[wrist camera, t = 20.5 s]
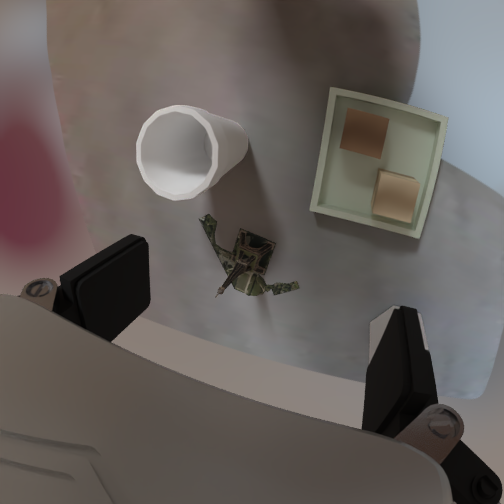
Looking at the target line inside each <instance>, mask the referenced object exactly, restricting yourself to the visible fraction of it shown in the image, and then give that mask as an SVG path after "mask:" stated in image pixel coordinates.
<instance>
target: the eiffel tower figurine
mask: <svg viewBox="0 0 504 504" xmlns="http://www.w3.org/2000/svg"><path fill="white" fill-rule="evenodd" d="M199 220H200V222H201V224H202V226H203V228H204V230H205V232H206V234H207V236H208V238H209V240H210V242H211V244H212V246H213V248H214V250H215V252H216V254H217V256H218V258H219V260H220V262H221V264H222V266H223V268H224V270H225V271H226V273H227V275H228V278H227V279H226V281H225V282H224V284H223V285H222V286H221V287H219V289H218V292H217V293H218V294H223V292H224V290H225V289H226V288H227V287H228V286H229V285H230V284H231V283H232V285H233V287H234V289H236V290H238V291H241V292H243V293H245V294H247V295H248V296H250V295H251V296H257V295H259V294H263V293H264V292H265V291H267V292H268V291H269V290H270V289H272V291H273V294H274V295H277V294H280V293H284V292H287V291H291V290H294V289H298V288H299V285H298V283H297V281H295V282H292V283H290V284H286V283H284V284H283V283H275V284H273V285H266V283H265V281H264V279H263V278H262V277H261V276H260V275H259V274H258V273H260V274H262V275H264V274H265V272H266V269H267V266H268V264H269V261H270V258H271V256H272V253H273V250H274V248H275V245H276V243H274V242H272V241H269V240H267V239H265V238H262V237H260V236H258V235H255V234H253V233H251V232H248V231H246V230H243V229H241V228H240V231H239V234H238V237H237V240H236V243H235V247H234V250H233V252H229V251H226V250H224V249H222V248H221V247H220V246H218V245H217V244H216V242H215V230H216V225H217V221H216V220H214V219H213V218H212V216H211V215H210V214H208V215H206V216H203V217H201V218H199ZM257 272H258V273H257ZM218 294H217V295H218ZM216 297H217V296H216ZM216 297H215V298H216Z"/></svg>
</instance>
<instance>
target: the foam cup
mask: <svg viewBox="0 0 504 504" xmlns="http://www.w3.org/2000/svg"><path fill="white" fill-rule="evenodd" d="M248 142H249V139H248V136H247V134H246V132H245V129H244V128H243V127H241V126H240V125H239V124H238V123H237V122H235V121H232V120H229V119H226V118H223V117H220V116H217V115H214V114H211V113H208V112H207V111H206V110H204V109H200V108H196V107H192V106H187V105H174V106H170V107H167V108H164V109H160V110H157V111H156V112H155V113H154V114H153V115H152V116H151V117H150V118H149V119H148V120H147V121H146V122H145V123H144V124H143V127H142V129H141V132H140V134H139V137H138V139H137V142H136V151H137V164H138V167H139V169H140V172H141V174H142V177H143V179H144V181H145V182H146V183H147V184H148V185H149V186H150V187H151V188H152V189H153V190H154V191H155V193H156V194H158V195H160V196H163V197H166V198H168V199H171V200H173V201H176V200H184V199H192V198H194V197H196V196H198V195H200V194H202V193H204V192H205V191H207V190H208V189H209V188H211V187H212V186H214V185H215V184H216V183H218V181H219V180H220V178H221V177H222V176H223V175H224V174H226V173H227V172H228V171H229V170H230V169H232V168H233V167H234V166H235V165H237V164H238V163H239V162H240V161H242V160H243V158H244V156H245V155H246V153H247V151H248Z"/></svg>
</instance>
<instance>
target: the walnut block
mask: <svg viewBox="0 0 504 504" xmlns="http://www.w3.org/2000/svg"><path fill="white" fill-rule="evenodd" d="M388 124H389V119H388V118H385V117H382V116H378V115H375V114H371V113H367V112H364V111H360V110H356V109H352V108H347V113H346V118H345V123H344V128H343V133H342V138H341V143H340V147H339V148H341V149H345V150H349V151H352V152H356V153H360V154H363V155H367V156H370V157H374V158H377V159H381V155H382V151H383V146H384V142H385V138H386V133H387V128H388Z"/></svg>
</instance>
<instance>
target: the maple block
mask: <svg viewBox="0 0 504 504" xmlns="http://www.w3.org/2000/svg"><path fill="white" fill-rule="evenodd" d="M419 188H420V183H419V182H418V181H417V180H416V179H415V178H414V177H411V176H407V175H404V174H400V173H396V172H392V171H389V170H385V169H381V168H378V172H377V177H376V182H375V186H374V191H373V195H372V200H371V208H372V213H374V214H377V215H381V216H385V217H389V218H393V219H397V220H401V221H404V222H408V223H411V219H412V215H413V212H414V208H415V204H416V200H417V196H418V192H419Z"/></svg>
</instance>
